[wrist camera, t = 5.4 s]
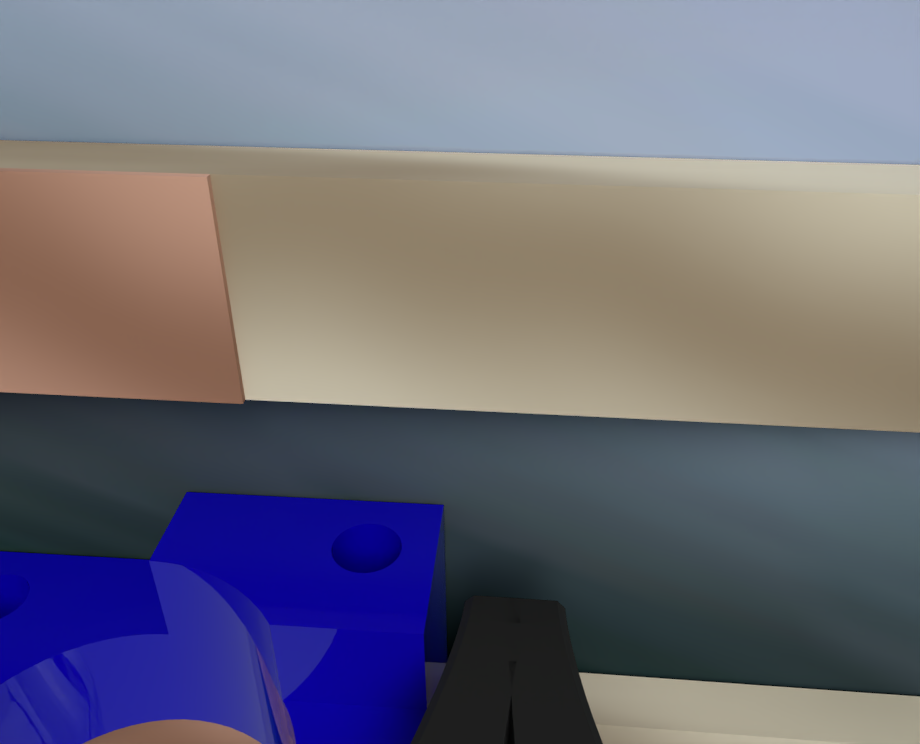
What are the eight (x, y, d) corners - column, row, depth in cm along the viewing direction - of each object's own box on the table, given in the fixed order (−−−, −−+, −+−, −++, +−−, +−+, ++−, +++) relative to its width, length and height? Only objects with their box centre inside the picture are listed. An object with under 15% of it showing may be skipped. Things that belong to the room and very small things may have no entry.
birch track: (1051, 816, 16) (1083, 878, 15) (-39, 730, 17) (-72, 781, 16) (1447, 179, 9) (1544, 216, 9) (-326, 131, 11) (-407, 159, 10)
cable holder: (444, 504, 13) (407, 738, 10) (447, 660, 15) (418, 902, 12) (-59, 479, 14) (-257, 690, 10) (4, 632, 16) (-146, 854, 12)
